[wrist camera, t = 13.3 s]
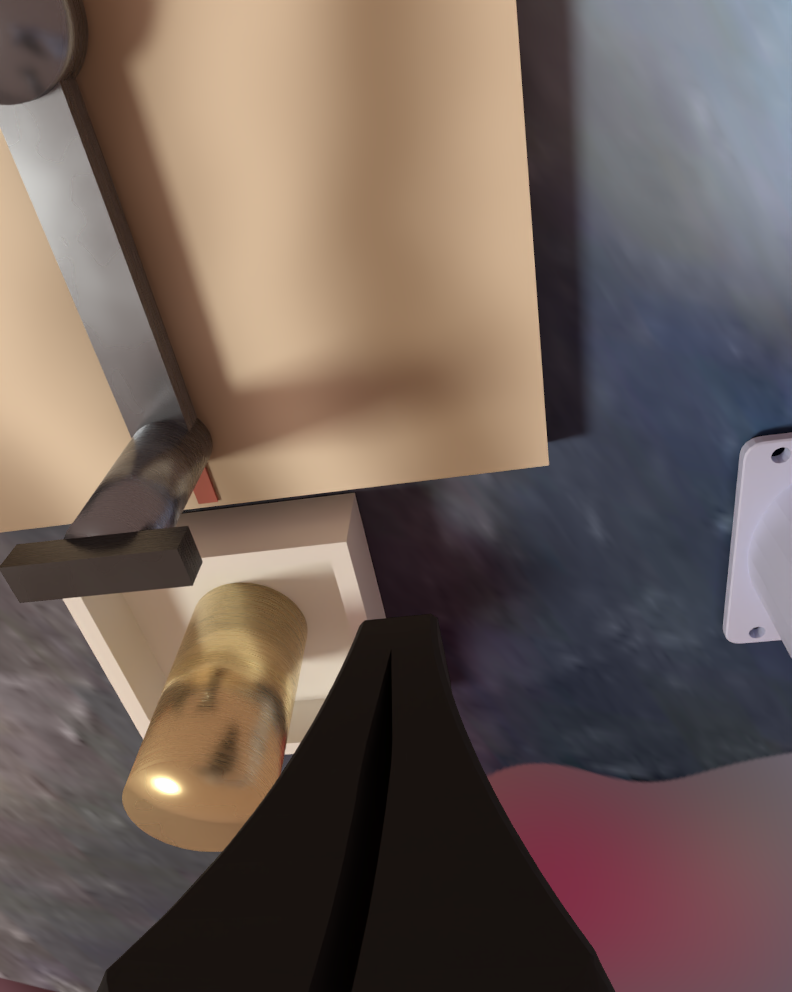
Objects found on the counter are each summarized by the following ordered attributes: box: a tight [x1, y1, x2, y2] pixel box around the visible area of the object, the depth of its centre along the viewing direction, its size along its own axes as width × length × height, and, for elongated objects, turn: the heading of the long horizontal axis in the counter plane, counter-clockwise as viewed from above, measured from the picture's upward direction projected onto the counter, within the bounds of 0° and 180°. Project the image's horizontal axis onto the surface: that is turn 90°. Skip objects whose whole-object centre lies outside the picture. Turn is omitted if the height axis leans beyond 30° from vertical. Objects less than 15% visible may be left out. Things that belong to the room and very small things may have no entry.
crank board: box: [0, 0, 549, 532], centre depth 18 cm, size 18×16×1 cm
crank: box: [0, 0, 213, 603], centre depth 15 cm, size 12×4×6 cm, turn 9°
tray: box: [63, 493, 386, 754], centre depth 25 cm, size 9×9×2 cm
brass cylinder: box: [122, 583, 308, 852], centre depth 22 cm, size 4×4×7 cm
